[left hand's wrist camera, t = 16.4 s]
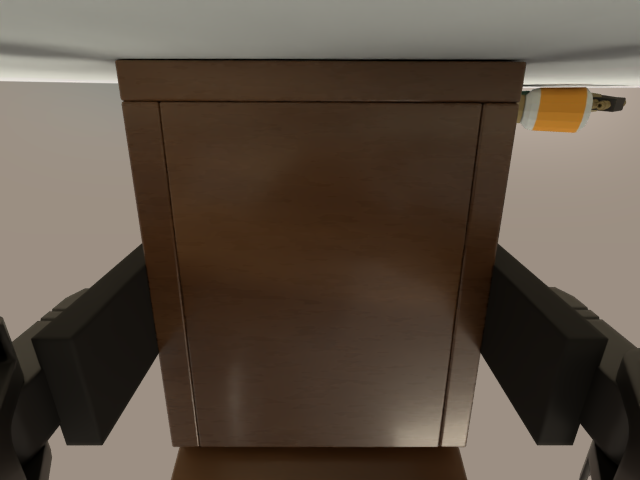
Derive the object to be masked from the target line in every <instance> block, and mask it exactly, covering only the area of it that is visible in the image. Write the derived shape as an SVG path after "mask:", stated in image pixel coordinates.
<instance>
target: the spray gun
mask: <svg viewBox="0 0 640 480" xmlns="http://www.w3.org/2000/svg"><path fill="white" fill-rule="evenodd" d="M518 104H519V110H518V116H517V123H521V124H522V126H523V127H524V128H526V129H529V130H536V131H554V132H572V133H574V132H578V131H579V130H580V129H582V128H583V127H584V126H585V124H586V123H587V121H588V118H589V116H590V113H591V112H594V111H597V110H598V111H609V112H614V111H621V110H622V109H623V106H624V105H625V104H626V99H625V98H620V97H612V96H605V95H601V94H596V93H591V92H590V91H589V89H588V88H586V87H562V88H537V89H533V90H532V91H522V94H521V100H520V102H518Z"/></svg>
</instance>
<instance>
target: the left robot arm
mask: <svg viewBox="0 0 640 480" xmlns="http://www.w3.org/2000/svg"><path fill="white" fill-rule="evenodd" d="M158 354H159V352H158V345H157V339H156V332H155V325H154V318H153V312H152V305H151V298H150V292H149V285H148V278H147V271H146V265H145V258H144V251H143V244H141V245H139V246H138V247H137V248H136V249H135V250H134V251H132V252H131V253H130V254H129V255H128V256H127V257H126V258H124V259H123V260H122V261H121V262H120V263H119V264H117V265H116V266H115V267H114V268H113V269H112V270H110V271H109V272H108V273H107V274H106V275H105V276H103V277H102V278H101V279H100V280H99V281H98V282H96V283H95V284H94V285H93V286H92V287H91V288H89V289H83V290H81V291H79V292H77V293H75V294H73V295H71V296H69V297H67V298H65V299H64V300H63V301H62V302H60V303H59V304H58V305H57V306H56V307H54V308H53V309H52V311H50V312H48V313H47V314H46V315H45V316H43V317H42V318H41V321H37V322H36V323H35V324H34V325H32V326H31V327H30V328H29V329H27V330H26V331H25V332H24V333H23V334H21V335H20V336H19V337H18V338H16V339H15V340H14V341H13V342H12V341H11V339H10V336H9V333H8V330H7V328H6V325H5V322H4V319H3V318H2V317H0V480H49V473H50V467H51V460H52V455H51V449H50V446H49V443H48V439H49V438H50V437H51V436H52V434H53V433H54V432H55V430H56V429H57V428H58V427H59V425H60V427H61V430H62V433H63V436H64V438H65V441H66V444H67V445H103V443H104V442H105V440H106V438H107V437H108V435H109V434H110V432H111V430H112V429H113V427H114V425H115V424H116V422H117V421H118V419H119V417H120V416H121V414H122V412H123V411H124V409H125V407H126V406H127V404H128V402H129V401H130V399H131V398H132V396H133V394H134V393H135V391H136V389H137V388H138V386H139V385H140V383H141V381H142V380H143V378H144V376H145V375H146V373H147V372H148V370H149V368H150V367H151V365H152V363H153V362H154V360H155V358H156V357H157V355H158ZM481 354H482V356H483V358H484V359H485V361H486V362H487V364H488V366H489V367H490V369H491V371H492V372H493V374H494V375H495V377H496V379H497V380H498V382H499V384H500V385H501V387H502V389H503V390H504V392H505V393H506V395H507V397H508V398H509V400H510V402H511V403H512V405H513V406H514V408H515V410H516V411H517V413H518V415H519V416H520V418H521V420H522V421H523V423H524V424H525V426H526V428H527V429H528V431H529V433H530V434H531V436H532V438H533V439H534V441H535V442H536V444H537V445H573V443H574V440H575V437H576V434H577V431H578V428H579V425H580V424H581V425H582V426H583V428H584V429H585V430H586V431H587V433H588V434H589V435H590V437H591V438H592V439H593V441H592V443H591V446H590V449H589V452H588V454H587V457H586V460H585V463H584V465H583V468H582V471H581V474H580V478H579V480H587V479H588V476H590V475H591V478H592V480H640V348H637V347H635V346H634V345H633V344H632V343H631V342H629V341H628V340H627V339H626V338H624V337H623V336H622V335H621V334H619V333H618V332H617V331H616V330H614V329H613V328H612V327H611V326H610V325H608V324H607V323H606V322H605V321H603V320H600V319H599V317H598V316H597V315H596V314H595V313H593V312H592V311H591V310H588V308H587V307H586V306H585V305H584V304H582V303H581V302H580V301H579V300H578V299H576V298H575V297H574V296H572V295H570V294H568V293H566V292H564V291H562V290H559V289H557V288H556V287H548V286H547V285H545V284H544V283H543V282H542V281H541V280H540V279H538V278H537V277H536V276H535V275H534V274H533V273H531V272H530V271H529V270H528V269H527V268H526V267H525V266H523V265H522V264H521V263H520V262H519V261H518V260H516V259H515V258H514V257H513V256H512V255H511V254H509V253H508V252H507V251H506V250H505V249H504V248H502V247H501V246H500V245H499V244H497V250H496V257H495V263H494V269H493V275H492V282H491V288H490V295H489V301H488V308H487V314H486V321H485V327H484V334H483V340H482V346H481Z"/></svg>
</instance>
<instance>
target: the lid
mask: <svg viewBox="0 0 640 480" xmlns="http://www.w3.org/2000/svg"><path fill="white" fill-rule="evenodd" d="M171 480H467V477H466V473H465V469H464V466H463V462H462V458H461V454H460V450H459V448H458V447H440V446H438V447H201V446H199V447H180V448H179V451H178V455H177V459H176V463H175V466H174V470H173V474H172V478H171Z"/></svg>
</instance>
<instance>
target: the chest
mask: <svg viewBox="0 0 640 480" xmlns="http://www.w3.org/2000/svg"><path fill="white" fill-rule="evenodd" d="M115 63H116V70H117V77H118V84H119V90H120V97H121V100H123V102H122V110H123V116H124V123H125V130H126V136H127V143H128V150H129V157H130V163H131V170H132V177H133V184H134V190H135V197H136V204H137V211H138V217H139V224H140V231H141V238H142V244H143V251H144V258H145V265H146V271H147V278H148V285H149V292H150V298H151V305H152V312H153V318H154V325H155V332H156V339H157V345H158V352H159V359H160V366H161V372H162V379H163V386H164V392H165V399H166V406H167V413H168V419H169V426H170V433H171V440H172V446H173V447H199V446H201V447H438V445H439V446H440V447H465V446H466V442H467V436H468V429H469V423H470V417H471V410H472V404H473V397H474V391H475V385H476V378H477V372H478V365H479V359H480V353H481V346H482V340H483V334H484V327H485V321H486V314H487V308H488V301H489V295H490V288H491V282H492V275H493V269H494V263H495V257H496V250H497V244H498V238H499V231H500V225H501V218H502V212H503V206H504V199H505V193H506V187H507V180H508V174H509V167H510V161H511V155H512V148H513V142H514V135H515V129H516V123H517V116H518V110H519V104H518V102H520V100H521V94H522V87H523V81H524V75H525V68H526V62H523V61H297V60H116V61H115Z"/></svg>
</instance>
